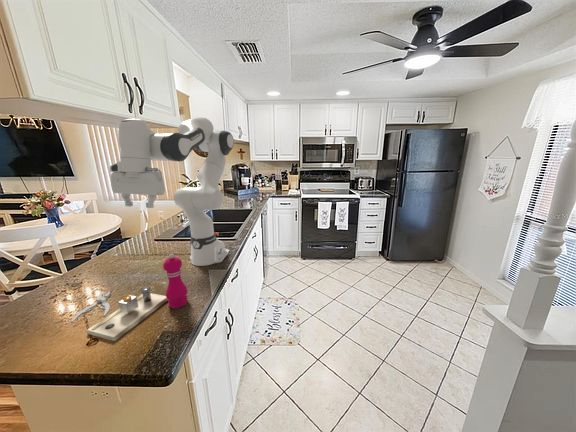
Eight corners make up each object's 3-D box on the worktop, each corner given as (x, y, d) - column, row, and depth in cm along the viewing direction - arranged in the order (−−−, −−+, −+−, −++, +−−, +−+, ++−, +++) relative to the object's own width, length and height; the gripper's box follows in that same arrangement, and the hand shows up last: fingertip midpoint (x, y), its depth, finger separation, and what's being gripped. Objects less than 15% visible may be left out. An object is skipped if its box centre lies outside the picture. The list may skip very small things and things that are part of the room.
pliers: (69, 319, 75) (90, 294, 88) (70, 323, 75) (91, 298, 89) (105, 312, 78) (120, 289, 91) (106, 316, 78) (121, 293, 92)
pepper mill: (166, 301, 86) (158, 253, 81) (186, 295, 90) (179, 248, 85) (169, 311, 80) (161, 260, 75) (190, 304, 84) (184, 254, 79)
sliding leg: (132, 307, 80) (129, 293, 78) (138, 308, 79) (136, 295, 78) (121, 314, 76) (118, 300, 75) (128, 316, 75) (125, 302, 74)
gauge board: (145, 295, 90) (145, 291, 89) (168, 299, 87) (167, 295, 86) (87, 334, 70) (86, 329, 70) (114, 341, 67) (113, 336, 67)
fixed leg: (147, 297, 86) (145, 286, 85) (154, 298, 85) (152, 287, 84) (140, 302, 83) (138, 290, 82) (147, 303, 82) (145, 292, 81)
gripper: (168, 168, 78) (170, 207, 80) (123, 167, 84) (126, 204, 86) (153, 167, 72) (155, 209, 74) (105, 166, 78) (109, 206, 80)
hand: (139, 207), depth 80 cm, fingers open, 8 cm apart
